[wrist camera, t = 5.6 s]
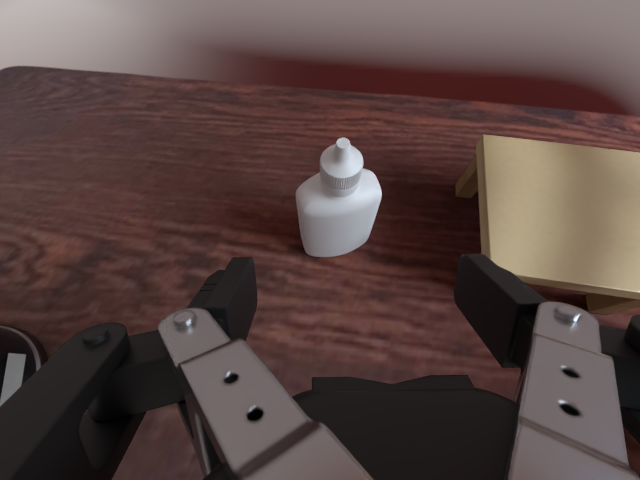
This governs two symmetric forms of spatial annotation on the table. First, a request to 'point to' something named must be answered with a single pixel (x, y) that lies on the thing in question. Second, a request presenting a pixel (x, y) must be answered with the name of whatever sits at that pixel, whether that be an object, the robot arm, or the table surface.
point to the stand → (560, 216)
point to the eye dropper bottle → (338, 203)
